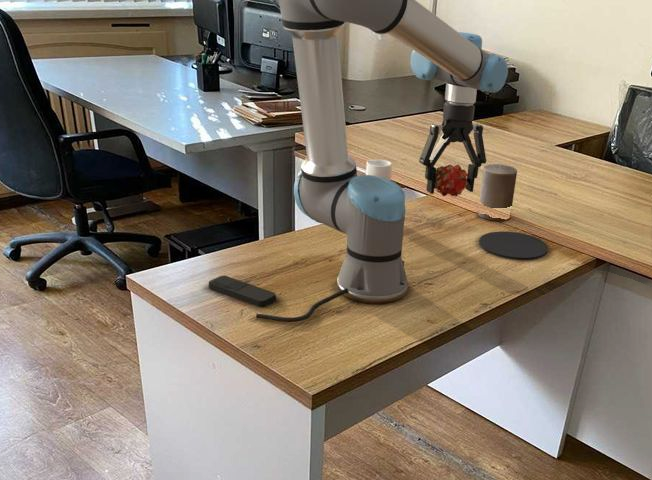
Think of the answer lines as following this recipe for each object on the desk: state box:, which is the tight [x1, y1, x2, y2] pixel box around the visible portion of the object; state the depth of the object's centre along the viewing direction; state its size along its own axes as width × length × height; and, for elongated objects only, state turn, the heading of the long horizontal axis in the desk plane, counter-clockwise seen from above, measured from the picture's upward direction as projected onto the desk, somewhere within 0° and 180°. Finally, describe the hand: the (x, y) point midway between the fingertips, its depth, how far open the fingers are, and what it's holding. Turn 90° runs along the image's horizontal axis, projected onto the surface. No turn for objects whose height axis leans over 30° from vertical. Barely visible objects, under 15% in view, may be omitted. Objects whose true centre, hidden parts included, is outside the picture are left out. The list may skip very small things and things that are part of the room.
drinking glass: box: [365, 158, 393, 181], centre depth 188 cm, size 7×7×15 cm
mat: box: [478, 231, 549, 261], centre depth 182 cm, size 18×18×1 cm
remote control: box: [208, 274, 277, 308], centre depth 144 cm, size 5×2×15 cm
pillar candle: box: [477, 163, 518, 222], centre depth 197 cm, size 10×10×15 cm
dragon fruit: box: [434, 164, 468, 198], centre depth 179 cm, size 8×8×12 cm
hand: (449, 191), depth 180 cm, fingers closed on dragon fruit, 11 cm apart
